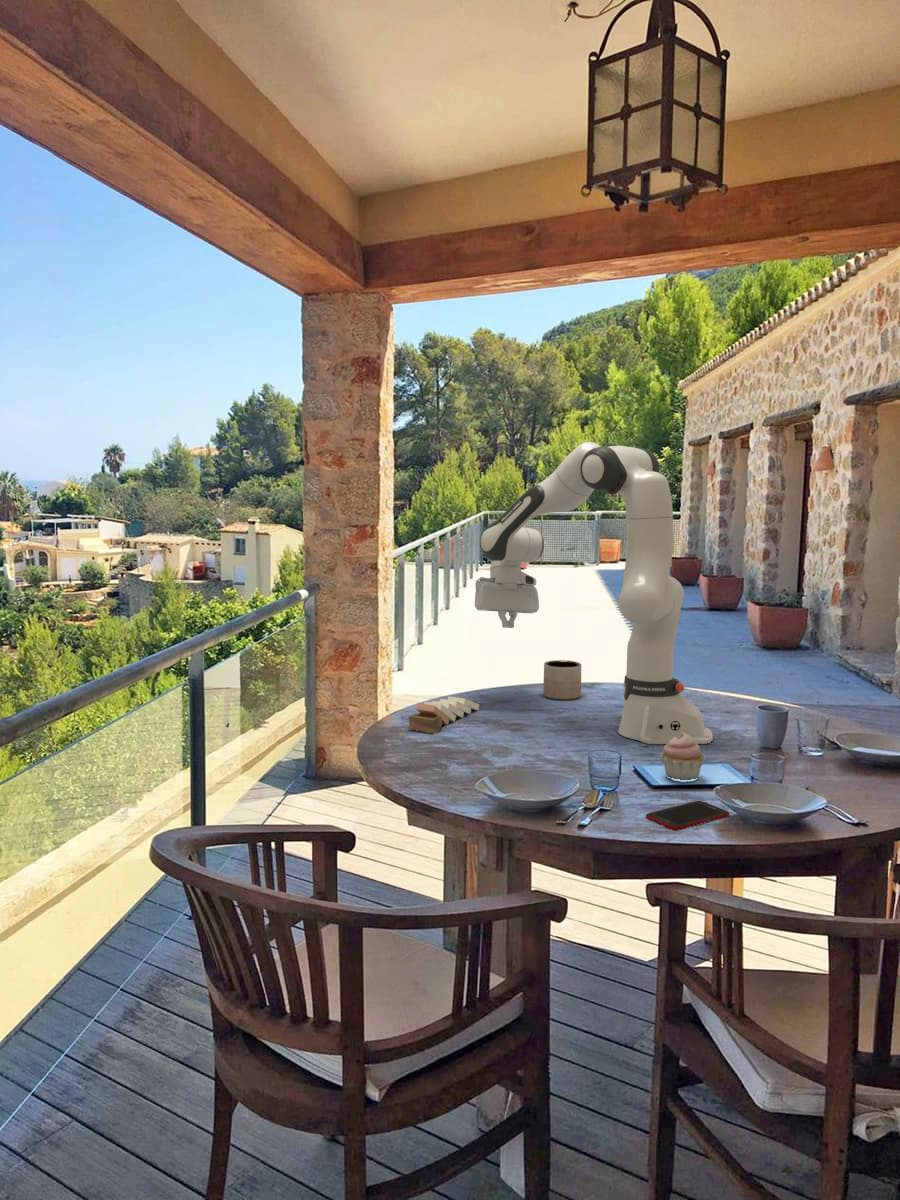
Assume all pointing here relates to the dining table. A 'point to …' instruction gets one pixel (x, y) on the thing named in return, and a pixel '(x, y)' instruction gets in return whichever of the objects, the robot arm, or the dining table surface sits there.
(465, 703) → the domino
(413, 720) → the block
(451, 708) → the domino
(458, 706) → the domino
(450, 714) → the domino
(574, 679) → the planter
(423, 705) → the domino
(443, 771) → the dining table surface
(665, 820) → the cell phone
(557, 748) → the dining table surface
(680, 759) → the cupcake
